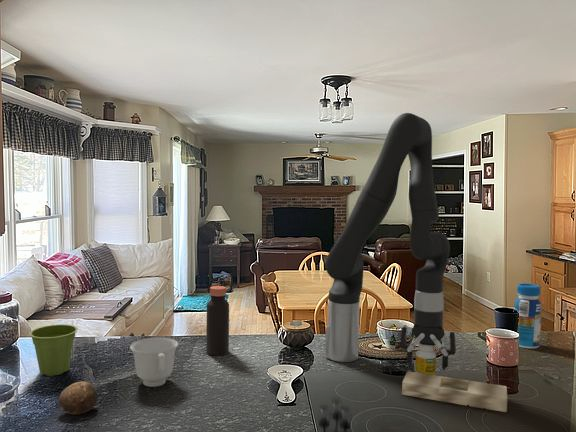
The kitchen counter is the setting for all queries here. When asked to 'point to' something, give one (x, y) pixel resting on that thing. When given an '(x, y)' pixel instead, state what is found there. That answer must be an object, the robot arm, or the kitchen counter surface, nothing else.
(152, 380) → the teacup
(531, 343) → the beverage bottle
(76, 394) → the brown potato
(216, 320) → the vinegar
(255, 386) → the kitchen counter surface
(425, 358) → the supplement bottle
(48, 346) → the plant pot
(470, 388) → the wooden plank
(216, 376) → the kitchen counter surface
